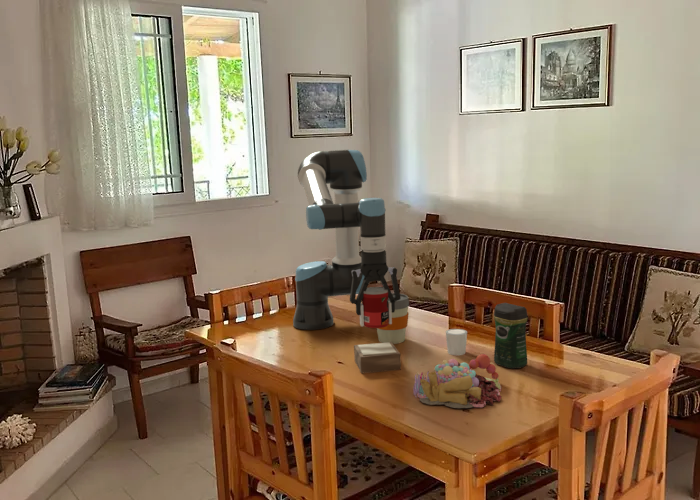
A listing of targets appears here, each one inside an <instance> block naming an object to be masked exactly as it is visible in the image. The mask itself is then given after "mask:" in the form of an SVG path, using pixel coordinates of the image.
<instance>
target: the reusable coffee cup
mask: <svg viewBox="0 0 700 500" xmlns="http://www.w3.org/2000/svg"><path fill="white" fill-rule="evenodd" d="M391 293H392V295H393V296H395V294H394V292H391ZM400 297H401V299H400V300H397V301H395V312H393V313H392V324H389V323H388V325H387V326H386V327H382V328H376V333H377V337H378V338H377V339H378V343H386V342H392V343H393V345H396V344H401V343H403V342H404V341H405V339H406V332H407V327H408V323H409V314H410V313H409V307H410V300H409V296H408V295H407V294H404V293H400ZM388 301H390V300H389V298H388Z"/></svg>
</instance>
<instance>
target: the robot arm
mask: <svg viewBox="0 0 700 500" xmlns="http://www.w3.org/2000/svg"><path fill="white" fill-rule="evenodd" d="M367 177H368V175H367V166H366V161H365V158H364V155H363V153H362V152H361V151H360V150H359V149H357V150H356V149H339V150H338V149H337V150H319V151H316V152H312V153H311V154H309V155H307V156H306V157H305V158H304V159H303V160H302V161H301V163H300V164H299V166H298V169H297V179H298V182H299V184H300V185H301V186H302V187H303V190H304V191H305V195H306V199H307V202H308V206H306V210H305V218H306V220H305V221H306V226H307V228H308V229H309V230H329V229H332V230H333V229H334V230H335V231H334V232H335V256H334V257H333V258H332V259H331V264H327V262H326V261H323V260H320V261H319V260H318V261H310V262H306V263H302V264H300V265H298V266H297V268H295V278H294V281H295V289H296V290H295V291H296V292H295V293H296V307H295V312H294V315H293V319H292V323H293V327H294V328H295V329H298V330H303V331H304V330H307V331H308V330H309V331H312V330H313V331H314V330H315V331H316V330H323V329H326V328H329V327H332V326H333V325H334V316H333V313H332V311H331V308H330V305H329V299H328V298H329V297H338V296H349V302H350V303H351V304H352V305H353V304H354V305H355V313H356V315H357V316H359V325H360V326H361V327H365V326H364V312H363V304H362V299H363V297H364V291H366V289H367V288H368V287H369V284H370V283H372V282H374V281H377V282H380V283H381V285H382V287H384V289H385V290H388V298H389V300H390V301H388V305H389V324H392V313H393V312H395V301H397V300H400V299H401V297H400V294H401V293H400V289H399V283H398V278H397V273H398V269H397V268H396V267H395V266H392V267H391V266H388V265H387V264H388V263H387V251H386V249H387V245H386V244H387V241H386V240H387V238H386V237H387V235H386V234H387V233H386V206H385V205H386V204H385V200H384V199H383V198H382V197H365V198H362V199H360V200H359V191H361V189H362V188H363V183H365V182H367V180H368V179H367ZM328 184H329V187H328ZM330 190H331V191H333V194H334V200H333V198H332V196H331V192H330ZM359 229H360V230H359ZM359 233H360V234H359ZM359 235H360V239H359ZM359 242H360V245H359ZM360 250H362V251H361V252H360ZM387 273H388V274H389V275H390V280H391V283H392V288H393V289H392V290H393V292H392V291H391V289H390V286H389V285H388V283H387V280H386V278H385V276H386V274H387ZM392 293H394V294H395V296H393V295H392ZM356 295H357V296H356Z"/></svg>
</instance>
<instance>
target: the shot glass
mask: <svg viewBox="0 0 700 500" xmlns="http://www.w3.org/2000/svg"><path fill="white" fill-rule="evenodd" d="M467 338H468V331H467V330H465V329H463V328H450V329H447V330H446V331H445V339H446V349H447V354H448V355H450V356H463V355H465V354H466V351H467V340H468V339H467Z"/></svg>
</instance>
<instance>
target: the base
mask: <svg viewBox="0 0 700 500" xmlns="http://www.w3.org/2000/svg"><path fill="white" fill-rule="evenodd" d="M353 353H354V362H355V364H356V366H357V368H358V369H359V372H360V373H361V374H367V373H369V374H370V373H377V372H378V373H379V372H380V373H381V372H389V371H400V370H401V368H402V365H401V363H402V362H401V353H400V352H399V350H398V348H396V346H395V344H393V343H392V342H386V343H381V342H378V343H377V342H375V343H365V344H354V345H353Z"/></svg>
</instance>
